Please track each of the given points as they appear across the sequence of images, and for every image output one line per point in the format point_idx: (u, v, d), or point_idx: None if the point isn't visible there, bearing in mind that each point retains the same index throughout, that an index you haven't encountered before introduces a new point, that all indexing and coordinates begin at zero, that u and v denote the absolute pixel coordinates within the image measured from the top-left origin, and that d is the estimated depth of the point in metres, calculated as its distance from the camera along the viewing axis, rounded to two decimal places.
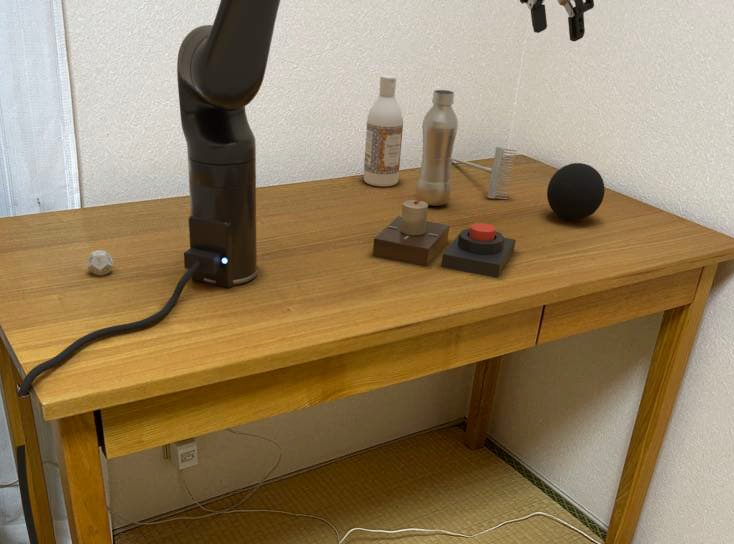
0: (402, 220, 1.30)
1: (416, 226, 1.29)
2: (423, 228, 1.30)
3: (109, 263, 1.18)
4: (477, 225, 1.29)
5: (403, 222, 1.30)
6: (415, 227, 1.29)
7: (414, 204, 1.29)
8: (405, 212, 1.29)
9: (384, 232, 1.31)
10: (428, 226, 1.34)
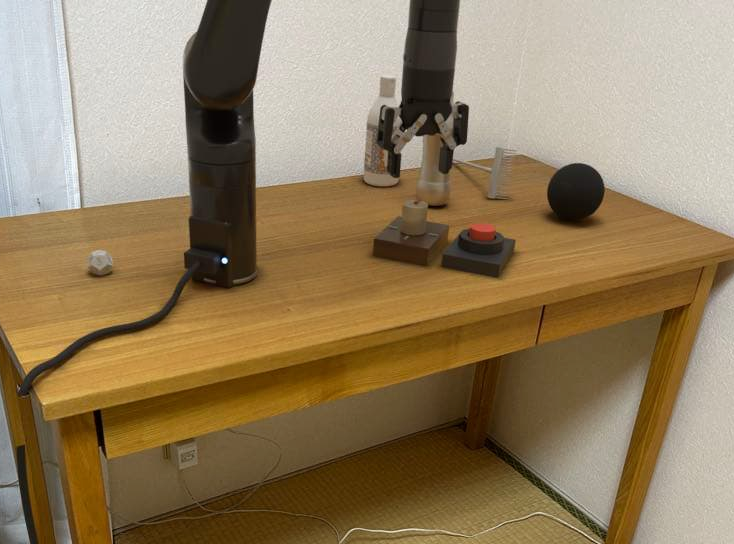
0: (402, 220, 1.30)
1: (416, 226, 1.29)
2: (423, 228, 1.30)
3: (109, 263, 1.18)
4: (477, 225, 1.29)
5: (403, 222, 1.30)
6: (415, 227, 1.29)
7: (414, 204, 1.29)
8: (405, 212, 1.29)
9: (384, 232, 1.31)
10: (428, 226, 1.34)
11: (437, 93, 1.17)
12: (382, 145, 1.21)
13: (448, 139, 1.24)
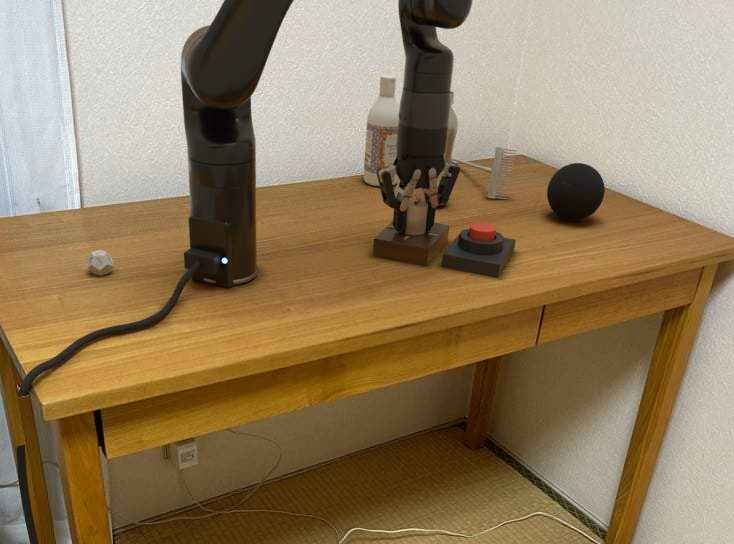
0: None
1: (416, 226, 1.29)
2: (423, 228, 1.30)
3: (109, 263, 1.18)
4: (477, 225, 1.29)
5: None
6: (415, 227, 1.29)
7: (414, 204, 1.29)
8: None
9: (384, 232, 1.31)
10: None
11: (431, 150, 1.21)
12: (388, 203, 1.26)
13: (430, 198, 1.28)
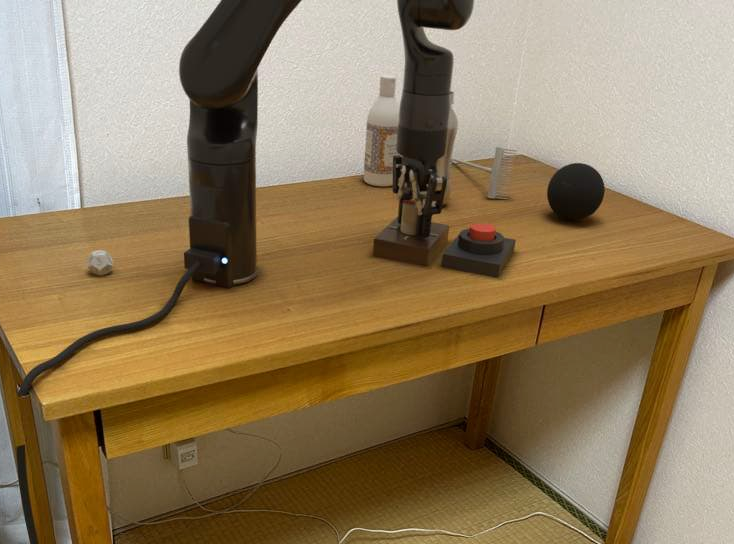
0: None
1: None
2: None
3: (109, 263, 1.18)
4: (477, 225, 1.29)
5: None
6: None
7: None
8: None
9: (384, 232, 1.31)
10: None
11: None
12: (439, 210, 1.25)
13: None
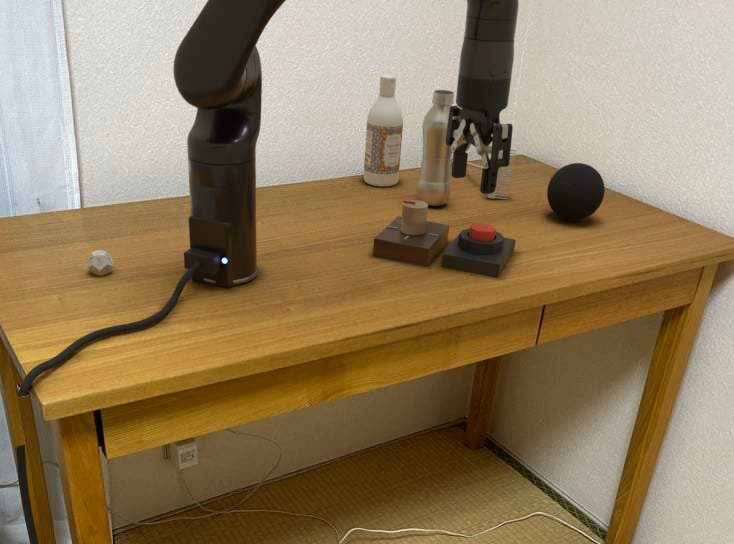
0: (419, 223, 1.29)
1: None
2: None
3: (109, 263, 1.18)
4: (477, 225, 1.29)
5: (420, 225, 1.29)
6: None
7: (417, 204, 1.29)
8: (423, 214, 1.29)
9: (384, 232, 1.31)
10: (428, 226, 1.34)
11: None
12: (507, 163, 1.17)
13: None
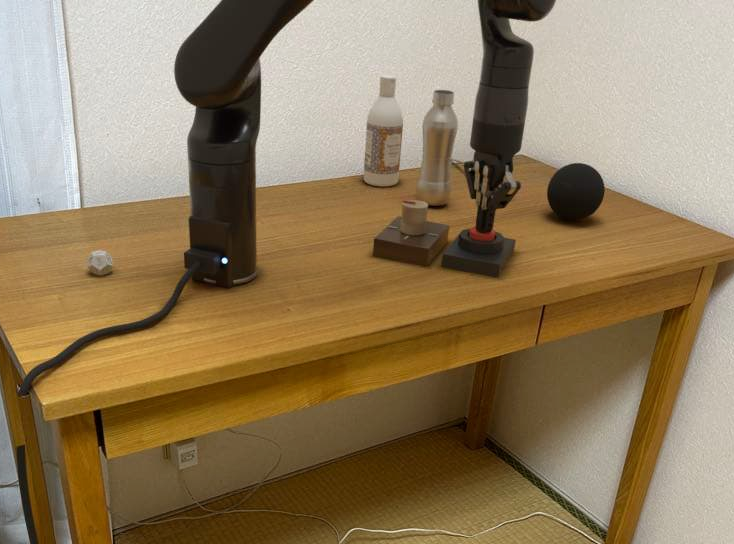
0: (419, 223, 1.29)
1: None
2: None
3: (109, 263, 1.18)
4: None
5: (420, 225, 1.29)
6: None
7: (417, 204, 1.29)
8: (423, 214, 1.29)
9: (384, 232, 1.31)
10: (428, 226, 1.34)
11: None
12: (504, 205, 1.23)
13: None
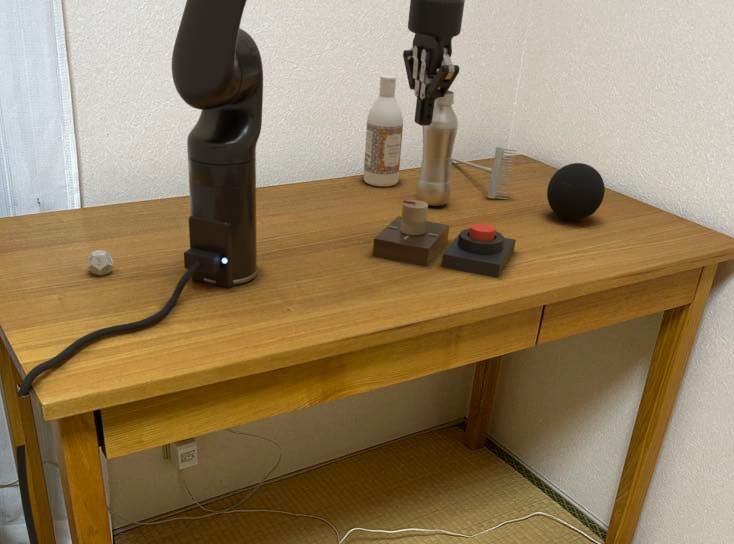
0: (419, 223, 1.29)
1: None
2: None
3: (109, 263, 1.18)
4: (477, 225, 1.29)
5: (420, 225, 1.29)
6: None
7: (417, 204, 1.29)
8: (423, 214, 1.29)
9: (384, 232, 1.31)
10: (428, 226, 1.34)
11: None
12: (443, 93, 1.18)
13: None
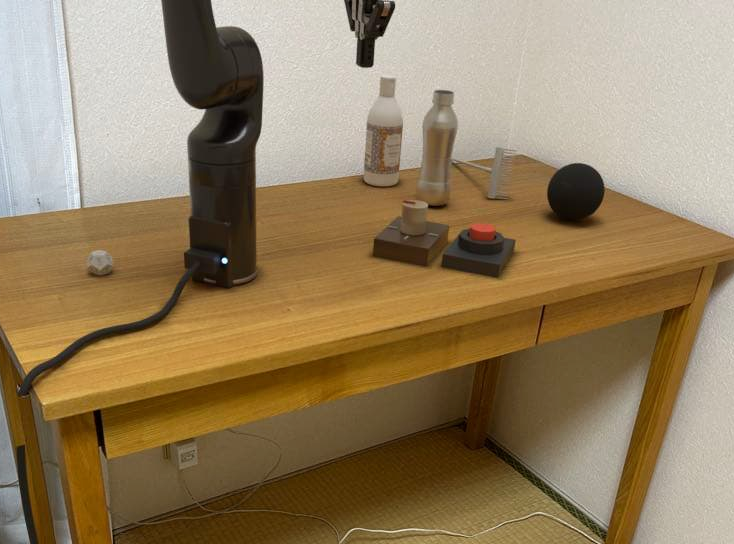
0: (419, 223, 1.29)
1: None
2: None
3: (109, 263, 1.18)
4: (477, 225, 1.29)
5: (420, 225, 1.29)
6: None
7: (417, 204, 1.29)
8: (423, 214, 1.29)
9: (384, 232, 1.31)
10: (428, 226, 1.34)
11: None
12: (381, 32, 1.16)
13: None
